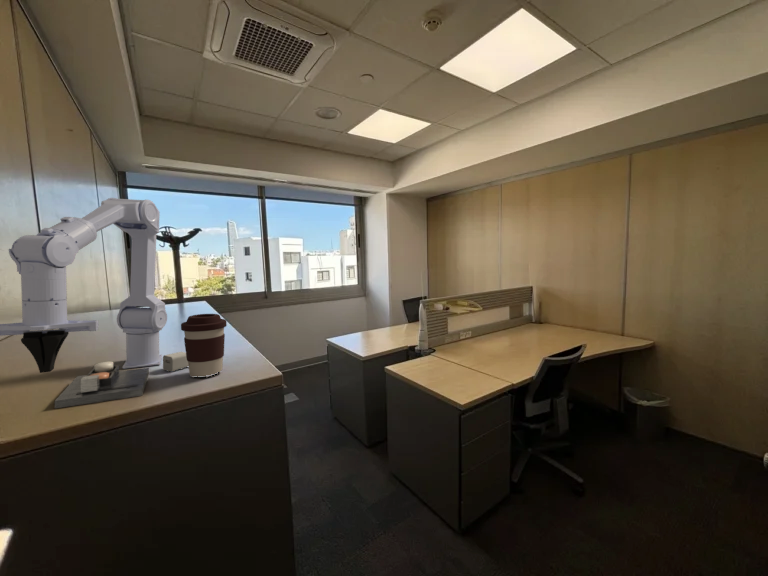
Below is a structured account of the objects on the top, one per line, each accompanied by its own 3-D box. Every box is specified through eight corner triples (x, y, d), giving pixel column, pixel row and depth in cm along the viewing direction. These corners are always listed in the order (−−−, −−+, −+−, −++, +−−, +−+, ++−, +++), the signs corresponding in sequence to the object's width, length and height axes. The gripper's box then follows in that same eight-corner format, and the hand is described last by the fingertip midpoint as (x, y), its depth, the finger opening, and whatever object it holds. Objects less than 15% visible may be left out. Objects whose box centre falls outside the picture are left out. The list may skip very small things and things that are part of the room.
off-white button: (96, 369, 72) (96, 362, 72) (114, 367, 73) (114, 360, 73) (93, 373, 69) (92, 366, 69) (112, 371, 71) (111, 364, 71)
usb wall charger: (163, 370, 81) (162, 355, 81) (189, 363, 87) (189, 349, 87) (172, 372, 79) (172, 357, 79) (198, 365, 86) (198, 351, 86)
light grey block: (83, 389, 63) (83, 376, 63) (99, 387, 64) (99, 374, 64) (80, 392, 61) (80, 379, 61) (97, 390, 62) (96, 377, 62)
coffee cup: (197, 383, 72) (194, 320, 71) (175, 376, 77) (172, 316, 76) (236, 371, 81) (234, 314, 80) (214, 365, 86) (212, 311, 85)
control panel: (77, 382, 71) (77, 369, 70) (148, 373, 78) (148, 362, 78) (54, 408, 58) (54, 393, 58) (142, 395, 65) (142, 381, 65)
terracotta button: (91, 380, 67) (91, 373, 67) (110, 378, 69) (110, 371, 69) (87, 385, 65) (87, 378, 65) (107, 382, 67) (107, 375, 66)
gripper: (-28, 303, 51) (-25, 384, 52) (92, 301, 59) (93, 371, 60) (-6, 298, 57) (-3, 371, 58) (100, 297, 65) (101, 361, 65)
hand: (46, 370), depth 59 cm, fingers closed
